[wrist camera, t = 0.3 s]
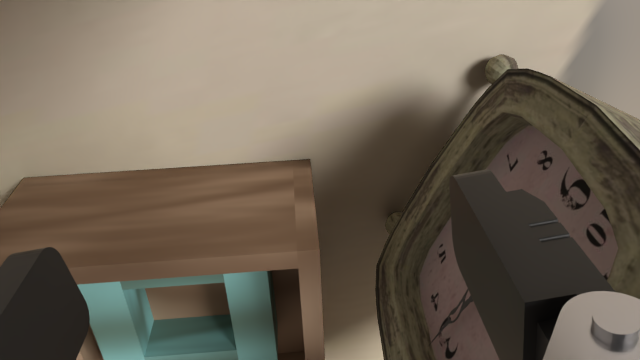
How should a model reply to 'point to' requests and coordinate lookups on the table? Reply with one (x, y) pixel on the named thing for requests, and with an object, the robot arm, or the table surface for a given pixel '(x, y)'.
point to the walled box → (183, 258)
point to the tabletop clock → (513, 174)
